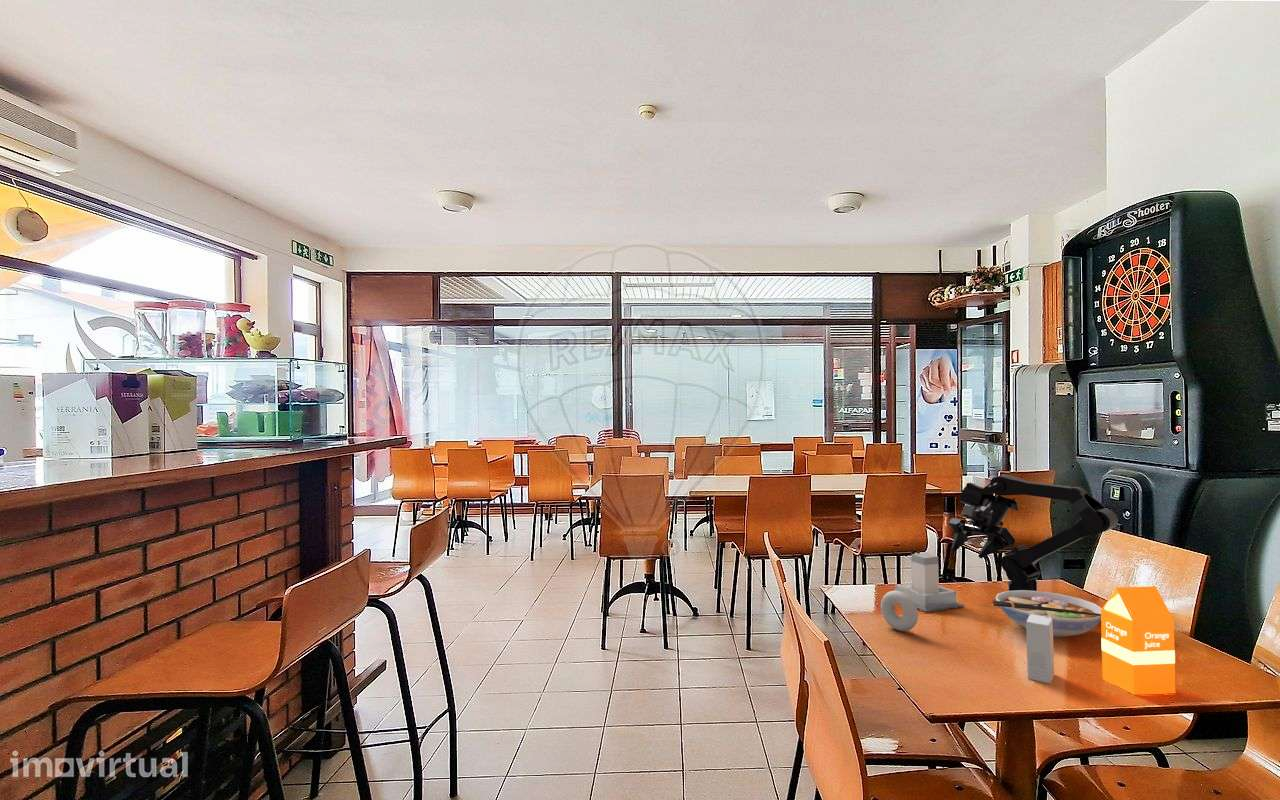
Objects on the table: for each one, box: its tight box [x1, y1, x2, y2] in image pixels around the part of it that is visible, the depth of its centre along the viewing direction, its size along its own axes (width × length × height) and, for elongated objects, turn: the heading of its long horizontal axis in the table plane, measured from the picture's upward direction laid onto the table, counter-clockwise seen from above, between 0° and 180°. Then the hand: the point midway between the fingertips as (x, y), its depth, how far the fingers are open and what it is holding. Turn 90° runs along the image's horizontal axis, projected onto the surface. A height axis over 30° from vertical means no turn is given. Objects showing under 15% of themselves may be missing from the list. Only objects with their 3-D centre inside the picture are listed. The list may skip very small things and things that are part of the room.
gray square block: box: [910, 552, 940, 594], centre depth 178 cm, size 5×5×13 cm
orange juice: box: [1100, 585, 1176, 695], centre depth 124 cm, size 8×9×20 cm
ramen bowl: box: [992, 590, 1103, 639], centre depth 153 cm, size 25×23×8 cm
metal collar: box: [894, 582, 957, 609], centre depth 178 cm, size 11×11×4 cm
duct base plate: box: [916, 601, 965, 613], centre depth 178 cm, size 14×14×1 cm
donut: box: [880, 590, 919, 632], centre depth 156 cm, size 10×4×10 cm, turn 32°
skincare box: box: [1025, 614, 1055, 685], centre depth 129 cm, size 6×4×12 cm
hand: (965, 553), depth 180 cm, fingers open, 9 cm apart
